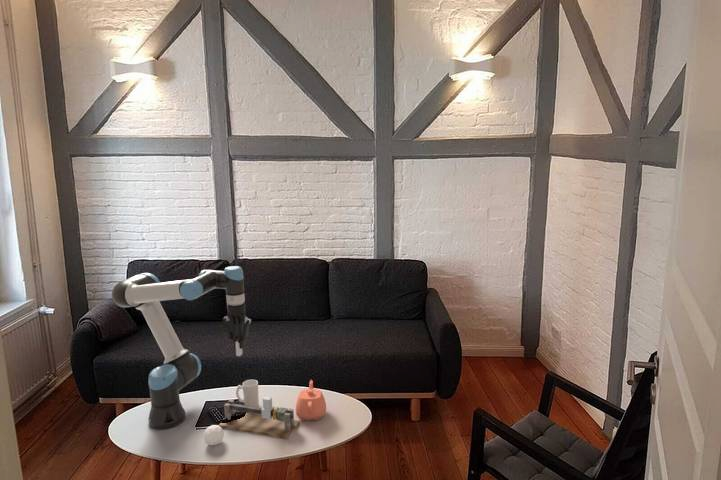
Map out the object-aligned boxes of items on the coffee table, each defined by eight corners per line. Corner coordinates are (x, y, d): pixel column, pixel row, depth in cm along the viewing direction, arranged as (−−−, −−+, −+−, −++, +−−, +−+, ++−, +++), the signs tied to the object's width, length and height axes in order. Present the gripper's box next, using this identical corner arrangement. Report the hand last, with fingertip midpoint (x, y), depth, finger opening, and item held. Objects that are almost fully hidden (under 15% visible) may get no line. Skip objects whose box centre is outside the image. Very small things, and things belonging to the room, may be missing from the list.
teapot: (326, 402, 243) (325, 377, 240) (326, 426, 224) (325, 400, 221) (297, 403, 242) (296, 379, 240) (294, 428, 223) (293, 401, 220)
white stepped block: (261, 418, 221) (260, 399, 220) (266, 413, 225) (265, 395, 223) (270, 419, 220) (269, 401, 218) (274, 414, 224) (273, 396, 222)
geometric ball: (218, 451, 212) (218, 444, 206) (200, 443, 213) (199, 435, 207) (227, 434, 217) (227, 426, 211) (209, 426, 218) (209, 418, 212)
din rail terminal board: (218, 427, 224) (217, 408, 222) (233, 412, 235) (232, 394, 233) (288, 439, 215) (287, 419, 213) (299, 423, 226) (299, 404, 224)
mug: (260, 403, 243) (259, 379, 240) (257, 411, 236) (256, 386, 234) (239, 403, 243) (237, 379, 241) (235, 411, 237) (233, 386, 234)
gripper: (217, 304, 221) (221, 356, 226) (245, 307, 217) (248, 360, 222) (227, 298, 228) (230, 349, 233) (254, 301, 224) (257, 353, 229)
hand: (239, 354), depth 228 cm, fingers closed
